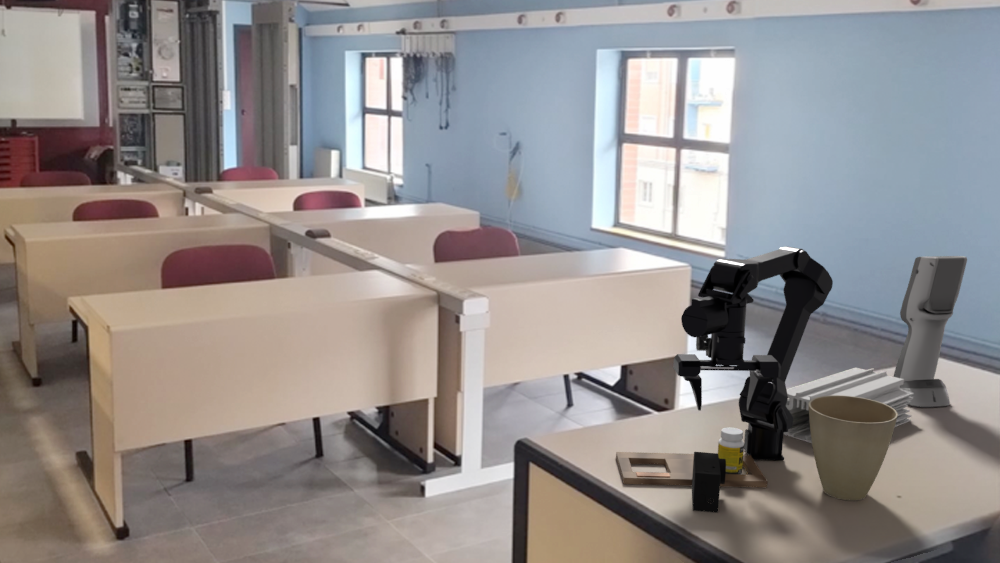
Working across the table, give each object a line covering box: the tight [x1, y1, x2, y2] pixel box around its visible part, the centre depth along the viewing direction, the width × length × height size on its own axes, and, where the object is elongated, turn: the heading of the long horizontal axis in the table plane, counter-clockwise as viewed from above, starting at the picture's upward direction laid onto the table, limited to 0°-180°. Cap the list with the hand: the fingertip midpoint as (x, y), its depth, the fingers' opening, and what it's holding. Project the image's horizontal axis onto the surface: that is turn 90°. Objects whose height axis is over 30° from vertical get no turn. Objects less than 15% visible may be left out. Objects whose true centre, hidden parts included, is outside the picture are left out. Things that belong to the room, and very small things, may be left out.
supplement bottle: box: [717, 426, 745, 475], centre depth 187 cm, size 5×5×8 cm
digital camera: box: [691, 451, 726, 514], centre depth 175 cm, size 10×5×7 cm, turn 170°
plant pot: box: [809, 395, 898, 502], centre depth 179 cm, size 15×15×16 cm
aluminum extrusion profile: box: [783, 366, 914, 444], centre depth 216 cm, size 14×31×10 cm, turn 131°
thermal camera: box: [893, 255, 968, 409], centre depth 233 cm, size 12×13×35 cm
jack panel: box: [615, 451, 769, 489], centre depth 188 cm, size 26×13×1 cm, turn 90°
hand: (723, 410), depth 187 cm, fingers open, 9 cm apart
